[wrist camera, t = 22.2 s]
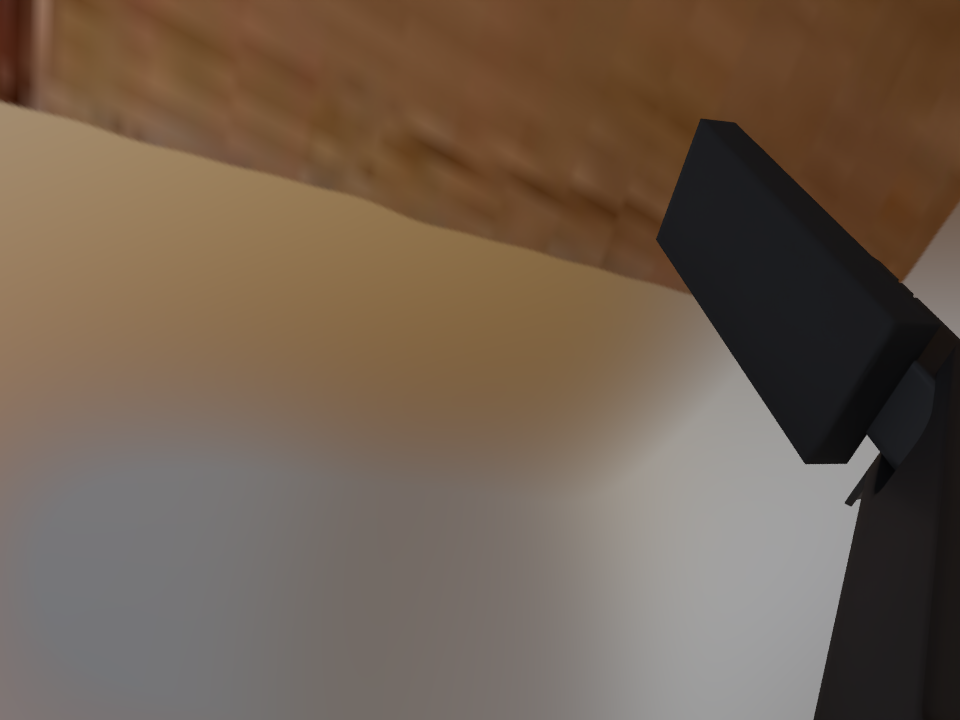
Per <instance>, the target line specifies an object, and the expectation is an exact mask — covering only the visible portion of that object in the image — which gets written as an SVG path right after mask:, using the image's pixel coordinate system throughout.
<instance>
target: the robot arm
mask: <svg viewBox="0 0 960 720" xmlns="http://www.w3.org/2000/svg"><path fill="white" fill-rule="evenodd" d="M656 240H657V242H658V243H659V245H660V246H661V248H662V249H663V251H664V252H665V254H666V255H667V257H668V258H669V260H670V261H671V263H672V264H673V266H674V267H675V269H676V270H677V272H678V273H679V275H680V276H681V278H682V279H683V281H684V282H685V284H686V285H687V287H688V288H689V290H690V291H691V293H692V294H693V296H694V297H695V299H696V300H697V302H698V303H699V305H700V306H701V308H702V310H703V311H704V313H705V314H706V316H707V317H708V318H709V320H710V321H711V323H712V324H713V326H714V328H715V329H716V330H717V332H718V333H719V335H720V337H721V338H722V340H723V341H724V343H725V344H726V346H727V347H728V349H729V350H730V352H731V353H732V355H733V356H734V358H735V359H736V361H737V362H738V364H739V365H740V367H741V368H742V370H743V371H744V373H745V374H746V376H747V377H748V379H749V380H750V382H751V383H752V385H753V386H754V388H755V389H756V391H757V392H758V394H759V395H760V397H761V398H762V400H763V401H764V403H765V404H766V406H767V407H768V409H769V410H770V412H771V413H772V415H773V416H774V418H775V419H776V421H777V422H778V424H779V425H780V427H781V428H782V430H783V431H784V433H785V434H786V436H787V437H788V439H789V440H790V442H791V443H792V445H793V446H794V448H795V449H796V451H797V453H798V454H799V456H800V457H801V458H802V460H803V462H804V463H805V464H847V463H848V461H849V460H850V458H851V457H852V456H853V454H854V453H855V451H856V450H857V448H858V447H859V445H860V444H861V442H862V441H863V439H864V438H865V436H866V435H868V437H869V438H870V439H871V440H872V442H873V443H874V444H875V446H876V447H877V448H878V450H879V451H880V453H879V455H878V456H877V457H876V459H875V460H874V462H873V463H872V464H871V466H870V467H869V469H868V470H867V471H866V473H865V474H864V476H863V477H862V479H861V480H860V481H859V483H858V484H857V486H856V487H855V488H854V490H853V491H852V493H851V494H850V496H849V497H848V499H847V500H846V501H845V504H847V505H849V506H852V505H853V504H854V502H855V501H856V500H857V499H861V503H860V507H859V512H858V517H857V521H856V526H855V531H854V535H853V540H852V544H851V550H850V553H849V558H848V563H847V567H846V572H845V577H844V582H843V586H842V590H841V595H840V600H839V605H838V609H837V614H836V618H835V623H834V627H833V632H832V637H831V641H830V646H829V651H828V655H827V660H826V665H825V669H824V674H823V679H822V683H821V688H820V692H819V697H818V702H817V706H816V711H815V716H814V720H960V339H959V338H958V337H957V336H956V335H955V334H954V333H953V332H952V331H951V330H950V329H949V328H948V327H947V326H946V325H945V324H944V323H943V322H942V321H941V320H940V319H939V318H937V317H936V315H934V314H933V313H932V312H931V311H930V310H929V309H928V308H927V307H926V306H925V305H924V304H923V303H922V302H921V301H920V300H919V299H918V298H914V297H913V293H912V292H911V291H910V290H909V289H908V288H907V287H906V286H905V285H904V284H903V283H899V282H898V280H899V279H898V278H897V277H895V276H894V275H893V274H892V273H891V272H890V271H889V270H888V269H887V268H886V267H885V266H884V265H883V264H882V263H881V262H880V261H878V260H877V259H875V258H874V257H872V256H871V255H870V254H869V253H868V252H867V251H866V250H865V249H864V248H863V247H862V246H861V245H860V244H859V243H858V242H857V241H856V240H855V239H854V238H853V237H852V236H851V235H850V234H849V233H847V232H846V231H845V230H844V229H843V228H842V227H841V226H840V225H839V224H838V223H837V222H836V221H835V220H834V219H833V218H832V217H831V216H830V215H829V214H828V213H827V212H826V211H825V210H824V209H823V208H822V207H821V206H820V205H819V204H818V203H817V202H816V201H815V200H814V199H813V198H812V197H811V196H810V195H809V194H808V193H807V192H806V191H805V190H804V189H802V188H801V187H800V186H799V185H798V184H797V183H796V182H795V181H794V180H793V179H792V178H791V177H790V176H789V175H788V174H787V173H786V172H785V171H784V170H783V169H782V168H781V167H780V166H779V165H778V164H777V163H776V162H775V161H774V160H773V159H772V158H771V157H770V156H769V155H768V154H767V153H766V152H765V151H764V150H763V149H762V148H761V147H760V146H759V145H757V144H756V143H755V142H754V141H753V140H752V139H751V138H750V137H749V136H748V135H747V134H746V133H745V132H744V131H743V130H742V129H741V128H740V127H739V126H738V125H737V124H736V123H734V122H725V121H717V120H708V119H700V122H699V125H698V127H697V130H696V133H695V136H694V138H693V141H692V144H691V146H690V149H689V152H688V154H687V157H686V160H685V163H684V165H683V168H682V171H681V173H680V176H679V179H678V182H677V184H676V187H675V190H674V192H673V195H672V198H671V200H670V203H669V206H668V209H667V211H666V214H665V217H664V219H663V222H662V225H661V228H660V230H659V233H658V236H657V238H656Z"/></svg>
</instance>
